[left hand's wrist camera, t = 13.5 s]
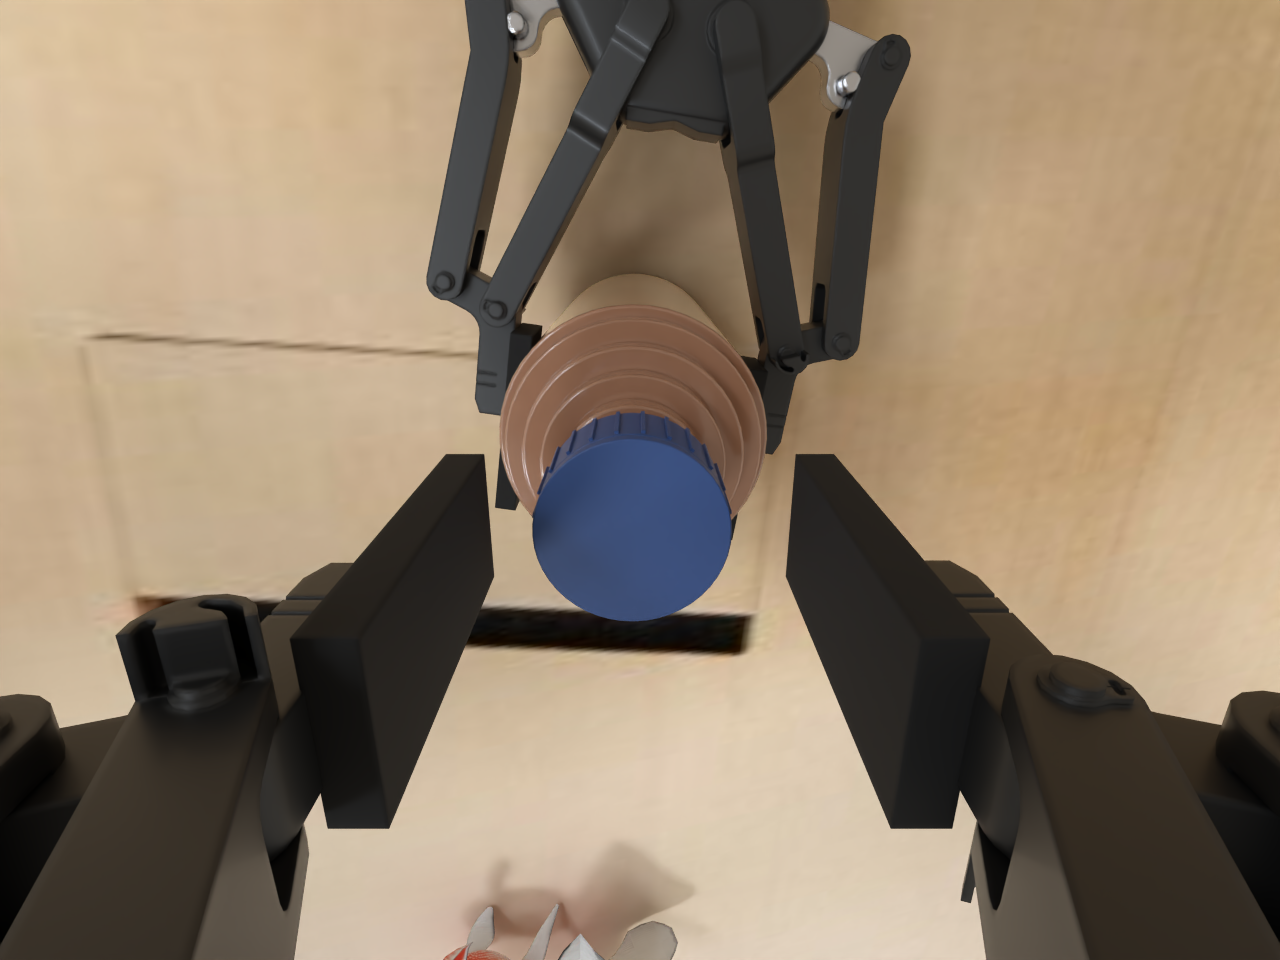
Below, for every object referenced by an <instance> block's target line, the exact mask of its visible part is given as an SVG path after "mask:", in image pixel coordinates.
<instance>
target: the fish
mask: <svg viewBox="0 0 1280 960" xmlns="http://www.w3.org/2000/svg"><path fill="white" fill-rule="evenodd" d="M558 907H559V905H558V904H556V905H555V907H554V909H553V910H552V912H551V913H550V915H549V916H548V918H547V919H546V921H545V922H544V924H543V925H542V927H541V928H540V930H539V932H538V933H537V935H536V937H535V939H534V941H533V943H532V945H531V947H530V949H529V950H528V952H527V954H526V955H525V957H524V958H523V959H522V960H544V958H545V955H546V951H547V947H548V943H549V939H550V935H551V931H552V927H553V924H554V921H555V917H556V914H557V911H558ZM494 934H495V933H494V919H493V908H492V907H487V908H486V909H485V910H484V911H483V913H482V914H481V915H480V916H479V918H478V919H477V920H476V922H475V924H474V925H473V927H472V929H471V931H470V934H469V937H468V941H467V944H466V946H463V947H461V948H458V949H456V950H455V951H453V952H452V953H450V954H449V955H447V956H446V957H445V958H444V959H443V960H510V959H508V958H507V957H505V956H504V955H502V954H499V953H497V952H494V951H489V950H486V949H487V948H488V946H489V945H490V944H491V942H492V941H493V939H494ZM677 944H678V942H677V939H676V937H675V935H674V932H673V930H672V928H671V927H669V926H667V925H665V924H662V923H658V922H655V921H651V922H648V923H644V924H641V925H639V926H637V927H635V928H634V929H632V930H630V931H628V932H627V934H626V936H625V938H624V940H623V942H622V944H621V946H620V948H619V949H618V950H617V952H616V953H615V954H614V955H613V957H611V958H610V959H609V960H671V959H672V957H673V955H674V953H675V951H676V947H677ZM558 960H604V959H603V958H602V957H601V956H600V955H598V954H597V953H596V952H595V951H594V950H593V948H592V947H591V946H590V945H589V943H588V942H587V941H586V940H585V938H584V937H583V936H582V935H581V933H580V934H579V935H578V936H577V937H576V938H575V939H574V940H573V941H572V943H571V944H570V945H569V946H568V947H567V948H566V949H565V950H564V951H563V952H562V954H561V956H560V957H559V959H558Z"/></svg>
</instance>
